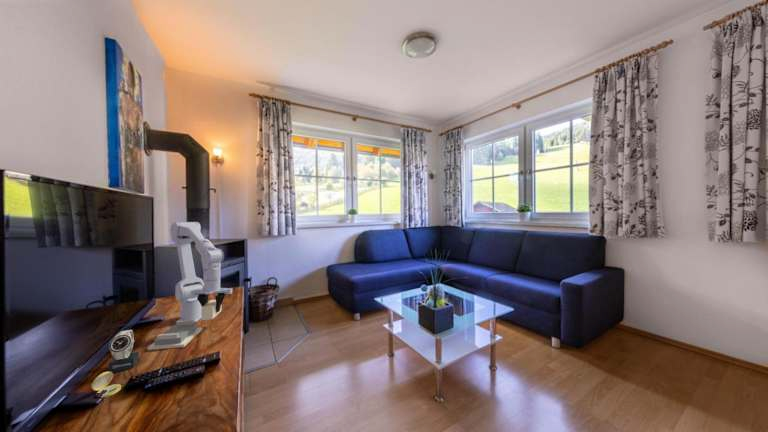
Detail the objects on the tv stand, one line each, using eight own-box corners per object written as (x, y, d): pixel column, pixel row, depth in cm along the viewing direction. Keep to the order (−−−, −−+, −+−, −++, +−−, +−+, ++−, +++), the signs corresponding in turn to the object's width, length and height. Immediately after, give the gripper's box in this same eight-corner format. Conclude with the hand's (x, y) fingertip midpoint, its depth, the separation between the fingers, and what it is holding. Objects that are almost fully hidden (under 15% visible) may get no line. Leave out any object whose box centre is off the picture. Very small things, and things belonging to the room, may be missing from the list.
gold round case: (106, 398, 66) (106, 379, 66) (89, 396, 67) (90, 377, 67) (125, 387, 71) (125, 369, 71) (109, 385, 71) (110, 367, 71)
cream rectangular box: (211, 311, 110) (211, 299, 110) (221, 310, 111) (221, 299, 111) (201, 320, 101) (201, 307, 101) (212, 319, 102) (212, 306, 102)
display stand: (171, 331, 103) (171, 320, 103) (202, 329, 105) (202, 318, 105) (147, 350, 89) (147, 337, 89) (184, 346, 92) (184, 334, 92)
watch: (105, 377, 75) (105, 339, 74) (117, 362, 82) (117, 328, 82) (131, 371, 77) (131, 335, 77) (140, 358, 84) (141, 325, 84)
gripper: (187, 282, 101) (186, 316, 101) (228, 280, 104) (227, 314, 104) (195, 277, 107) (195, 310, 108) (234, 276, 111) (233, 307, 111)
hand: (211, 311), depth 106 cm, fingers closed on cream rectangular box, 4 cm apart
